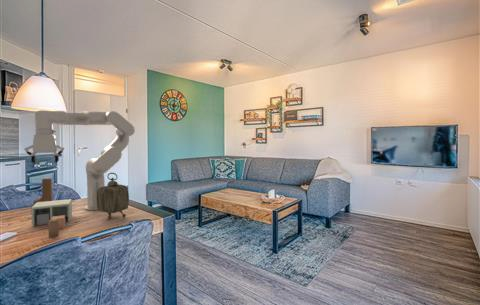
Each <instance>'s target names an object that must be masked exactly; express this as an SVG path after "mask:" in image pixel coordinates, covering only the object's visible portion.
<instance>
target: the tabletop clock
mask: <svg viewBox="0 0 480 305" xmlns="http://www.w3.org/2000/svg"><path fill="white" fill-rule="evenodd" d="M110 175H114V176H116V178H114V177H111V178H110V177H109V176H110ZM106 176H107V179H108V180H109V181H108V182H107V185H105V186H103V187H100V188H99V189H98V190H97V208H98V210H97V211H99V212H103V213H107V215H108V217H107V219H108V220H110V219H112V214H116V213H118V212H119V213H121V215H122V217H123V218H125V217H127V216H126V213H123V211H125V210H127V209H129V204H130V194H129V192H130V191H129V188H128V186H127V185H124V184H120V183H118V182H117V180H118V174H117V173H115V172H110V173H108V174H107V175H106Z"/></svg>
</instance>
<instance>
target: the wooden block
mask: <svg viewBox="0 0 480 305" xmlns="http://www.w3.org/2000/svg"><path fill="white" fill-rule="evenodd" d="M41 182H42V183H41V188H42V191H41V192H42V195H41V197H40V198H37V199H34V200H33V206H34V205H35V204H36V203H37V202H46V201H54V200H53V179H52V177H47V178H46V177H45V178H42V180H41Z"/></svg>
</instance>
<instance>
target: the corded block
mask: <svg viewBox="0 0 480 305" xmlns="http://www.w3.org/2000/svg"><path fill="white" fill-rule="evenodd" d="M47 225H48V238H49V239H50V238H57V237H58V236H59V234H60V233H59V231H60V230H59V229H64V228H65V227H66V217H65V215H61V216H53V217H52V218H51V220H49V221H48V224H47Z"/></svg>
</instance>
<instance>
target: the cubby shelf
mask: <svg viewBox="0 0 480 305" xmlns="http://www.w3.org/2000/svg"><path fill="white" fill-rule="evenodd" d="M72 204H73V203H72V199H71V198H69V199H59V200H53V201H46V202H37V203H36V204H35V205H34V204H33V205H32V207H31V227H32V228H33V227H35V226H36V225H37V214H38V213H42V212H50V220H51V218H52V217H53V216H61V215H65V218H66V217H67V222H71V219H72V216H73V205H72Z"/></svg>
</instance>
